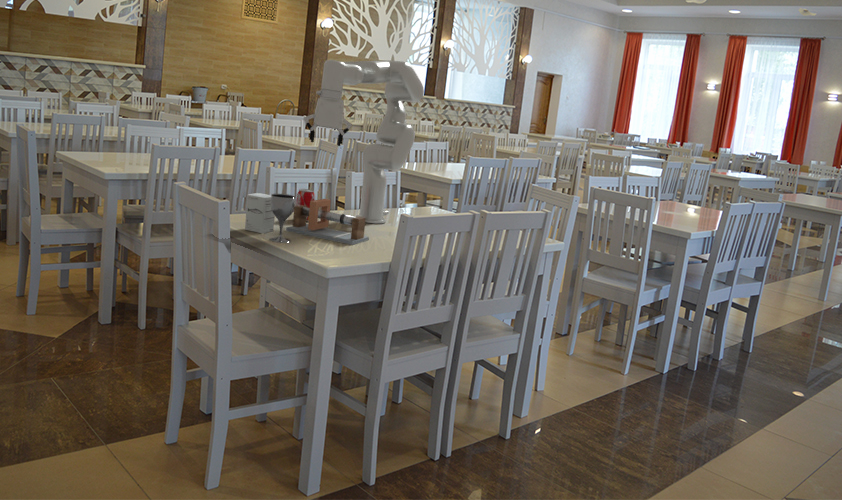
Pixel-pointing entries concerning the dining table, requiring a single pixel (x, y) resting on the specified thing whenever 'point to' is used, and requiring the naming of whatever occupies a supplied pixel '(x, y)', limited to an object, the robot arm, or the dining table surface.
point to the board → (327, 234)
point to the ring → (314, 214)
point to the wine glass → (282, 212)
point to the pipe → (330, 216)
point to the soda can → (305, 198)
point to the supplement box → (259, 213)
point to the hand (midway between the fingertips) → (325, 144)
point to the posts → (357, 223)
